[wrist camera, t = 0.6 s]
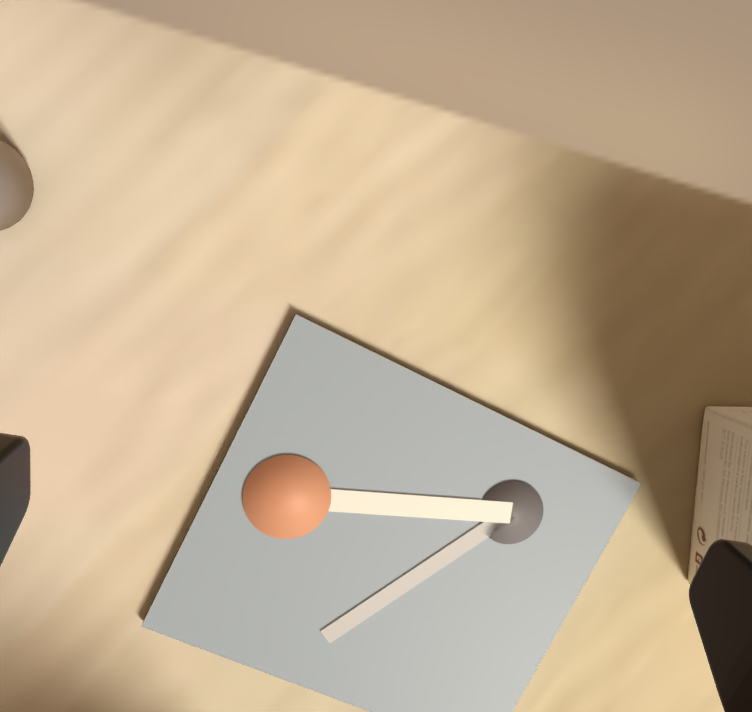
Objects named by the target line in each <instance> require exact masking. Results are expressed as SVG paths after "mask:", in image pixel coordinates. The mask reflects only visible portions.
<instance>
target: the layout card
mask: <svg viewBox="0 0 752 712" xmlns="http://www.w3.org/2000/svg"><path fill="white" fill-rule="evenodd" d="M640 485H641V483H640V482H638V481H637V480H635V479H633V478H631V477H629V476H627V475H625V474H623V473H620V472H618V471H616V470H614V469H612V468H610V467H608V466H606V465H604V464H602V463H600V462H598V461H596V460H594V459H592V458H590V457H588V456H586V455H584V454H582V453H580V452H578V451H576V450H573V449H571V448H569V447H567V446H565V445H563V444H561V443H559V442H557V441H555V440H553V439H551V438H549V437H547V436H545V435H543V434H541V433H539V432H537V431H535V430H533V429H531V428H529V427H526V426H524V425H522V424H520V423H518V422H516V421H514V420H512V419H510V418H508V417H506V416H504V415H502V414H500V413H498V412H496V411H494V410H492V409H490V408H488V407H486V406H484V405H482V404H480V403H477V402H475V401H473V400H471V399H469V398H467V397H465V396H463V395H461V394H459V393H457V392H455V391H453V390H451V389H449V388H447V387H445V386H443V385H441V384H439V383H437V382H435V381H433V380H430V379H428V378H426V377H424V376H422V375H420V374H418V373H416V372H414V371H412V370H410V369H408V368H406V367H404V366H402V365H400V364H398V363H396V362H394V361H392V360H390V359H388V358H386V357H384V356H381V355H379V354H377V353H375V352H373V351H371V350H369V349H367V348H365V347H363V346H361V345H359V344H357V343H355V342H353V341H351V340H349V339H347V338H345V337H343V336H341V335H339V334H337V333H334V332H332V331H330V330H328V329H326V328H324V327H322V326H320V325H318V324H316V323H314V322H312V321H310V320H308V319H306V318H304V317H302V316H300V315H298V314H295V316H294V318H293V320H292V322H291V324H290V326H289V328H288V330H287V332H286V334H285V336H284V338H283V340H282V342H281V345H280V347H279V349H278V351H277V353H276V355H275V357H274V359H273V361H272V363H271V365H270V367H269V369H268V371H267V373H266V375H265V377H264V379H263V381H262V383H261V385H260V387H259V389H258V391H257V393H256V395H255V397H254V399H253V401H252V403H251V405H250V407H249V409H248V411H247V413H246V415H245V417H244V419H243V421H242V423H241V425H240V427H239V429H238V431H237V433H236V435H235V437H234V439H233V441H232V443H231V445H230V447H229V449H228V451H227V453H226V455H225V457H224V459H223V461H222V463H221V465H220V468H219V470H218V472H217V474H216V476H215V478H214V480H213V482H212V484H211V486H210V488H209V490H208V492H207V494H206V496H205V498H204V500H203V502H202V504H201V506H200V508H199V510H198V512H197V514H196V516H195V518H194V520H193V522H192V524H191V526H190V528H189V530H188V532H187V534H186V536H185V538H184V540H183V542H182V544H181V546H180V548H179V550H178V552H177V554H176V556H175V558H174V560H173V562H172V564H171V566H170V568H169V570H168V572H167V574H166V576H165V578H164V580H163V582H162V584H161V586H160V588H159V591H158V593H157V595H156V597H155V599H154V601H153V603H152V605H151V607H150V609H149V611H148V613H147V615H146V617H145V619H144V621H143V623H142V626H141V627H144V628H147V629H149V630H152V631H155V632H157V633H160V634H163V635H165V636H168V637H171V638H173V639H176V640H179V641H182V642H184V643H187V644H190V645H192V646H195V647H198V648H200V649H203V650H206V651H208V652H211V653H214V654H216V655H219V656H222V657H225V658H227V659H230V660H233V661H235V662H238V663H241V664H243V665H246V666H249V667H251V668H254V669H257V670H260V671H262V672H265V673H268V674H270V675H273V676H276V677H278V678H281V679H284V680H286V681H289V682H292V683H295V684H297V685H300V686H303V687H305V688H308V689H311V690H313V691H316V692H319V693H321V694H324V695H327V696H329V697H332V698H335V699H338V700H340V701H343V702H346V703H348V704H351V705H354V706H356V707H359V708H362V709H364V710H367V711H370V712H513V710H514V708H515V706H516V705H517V703H518V701H519V699H520V697H521V696H522V694H523V692H524V690H525V689H526V687H527V685H528V683H529V682H530V680H531V678H532V676H533V675H534V673H535V671H536V669H537V667H538V666H539V664H540V662H541V660H542V659H543V657H544V655H545V653H546V652H547V650H548V648H549V646H550V644H551V643H552V641H553V639H554V637H555V636H556V634H557V632H558V630H559V629H560V627H561V625H562V623H563V621H564V620H565V618H566V616H567V614H568V613H569V611H570V609H571V607H572V606H573V604H574V602H575V600H576V598H577V597H578V595H579V593H580V591H581V590H582V588H583V586H584V584H585V583H586V581H587V579H588V577H589V575H590V574H591V572H592V570H593V568H594V567H595V565H596V563H597V561H598V560H599V558H600V556H601V554H602V553H603V551H604V549H605V547H606V545H607V544H608V542H609V540H610V538H611V537H612V535H613V533H614V531H615V530H616V528H617V526H618V524H619V522H620V521H621V519H622V517H623V515H624V514H625V512H626V510H627V508H628V507H629V505H630V503H631V501H632V499H633V498H634V496H635V494H636V492H637V491H638V489H639V487H640Z"/></svg>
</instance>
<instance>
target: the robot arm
mask: <svg viewBox="0 0 752 712" xmlns="http://www.w3.org/2000/svg"><path fill="white" fill-rule="evenodd" d="M29 500H30V446H29V442H28V440H27V439H26V438H25V437H23V436H17V435H10V434H4V433H0V566H1V564H2V562H3V560H4V558H5V555H6V553H7V551H8V549H9V547H10V545H11V543H12V541H13V538H14V536H15V534H16V532H17V530H18V528H19V526H20V524H21V521H22V519H23V517H24V515H25V513H26V510H27V507H28V504H29ZM689 599H690V604H691V607H692V611H693V614H694V617H695V620H696V623H697V627H698V630H699V633H700V636H701V639H702V643H703V646H704V649H705V652H706V655H707V659H708V662H709V665H710V668H711V671H712V675H713V678H714V681H715V684H716V687H717V691H718V694H719V697H720V699H721V702H722V705H723V708H724V711H725V712H752V545H750V544H748V543H745V542H739V541H732V540H725V539H719V540H716V541H714V542H713V543H712V544H711V545H710V547H709V548H708V550H707V552H706V554H705V556H704V558H703V560H702V562H701V564H700V566H699V568H698V570H697V572H696V574H695V576H694V578H693V580H692V582H691V584H690V589H689Z"/></svg>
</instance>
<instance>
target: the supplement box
mask: <svg viewBox="0 0 752 712" xmlns="http://www.w3.org/2000/svg"><path fill="white" fill-rule="evenodd" d="M719 539H725V540H732V541H739V542H745V543H748V544H750V545H752V407H722V406H708V407H706V408H705V413H704V417H703V427H702V434H701V444H700V455H699V464H698V475H697V485H696V495H695V505H694V516H693V525H692V536H691V547H690V560H689V573H688V581H689V584H691V582H692V580H693V578H694V576H695V574H696V572H697V570H698V568H699V566H700V564H701V562H702V560H703V558H704V556H705V554H706V552H707V550H708V548H709V547H710V545H711V544H712V543H713V542H714V541H716V540H719Z"/></svg>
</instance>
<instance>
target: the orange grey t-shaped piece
mask: <svg viewBox="0 0 752 712" xmlns="http://www.w3.org/2000/svg"><path fill="white" fill-rule="evenodd" d="M33 191H34V187H33V179H32V175H31V172H30V169H29V167H28V165H27V163H26V162H25V160H24V159H23V157H22V156H21V155H20V154H19V153H18V152H17V151H16V150H15V149H14V148H13V147H11V146H10V145H8V144H7V143H5V142H3V141H1V140H0V230H4V229H6V228H9V227H11V226H13V225H14V224H16V223H17V222H18V221H20V220H21V219H22V218H23V217H24V215H25V214H26V212H27V211H28V209H29V207H30V205H31V202H32V198H33Z"/></svg>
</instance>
